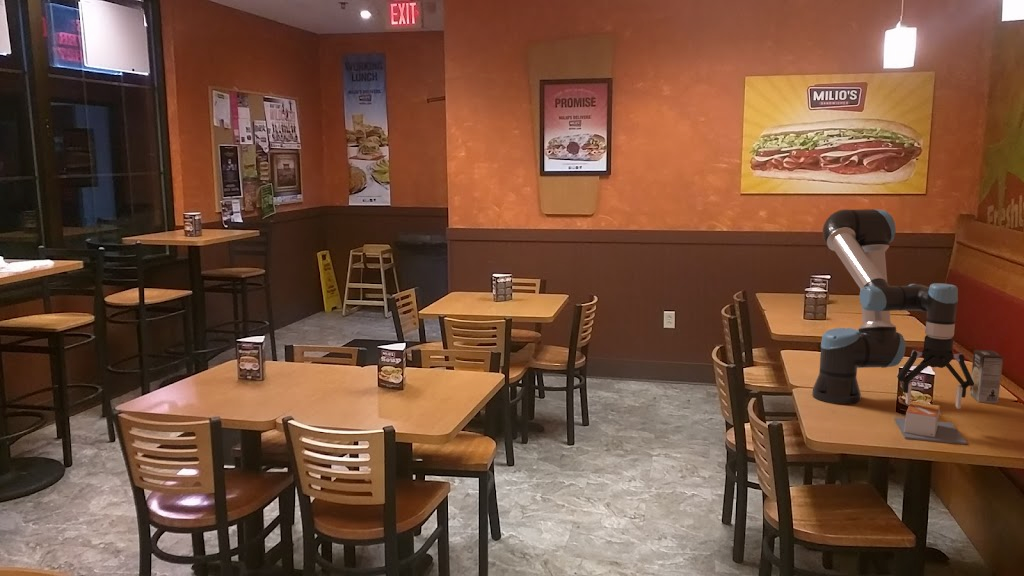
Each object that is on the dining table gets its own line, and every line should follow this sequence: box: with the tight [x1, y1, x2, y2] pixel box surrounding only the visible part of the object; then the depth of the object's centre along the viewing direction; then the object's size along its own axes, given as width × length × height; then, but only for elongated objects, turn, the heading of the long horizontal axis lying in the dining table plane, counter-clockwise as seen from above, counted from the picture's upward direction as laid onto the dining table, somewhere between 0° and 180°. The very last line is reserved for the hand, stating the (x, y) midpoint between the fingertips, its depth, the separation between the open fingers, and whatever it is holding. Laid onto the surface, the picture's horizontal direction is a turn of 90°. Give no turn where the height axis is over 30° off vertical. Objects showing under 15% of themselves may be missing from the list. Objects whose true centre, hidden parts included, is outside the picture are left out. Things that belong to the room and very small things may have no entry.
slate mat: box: [893, 417, 968, 445], centre depth 235 cm, size 16×18×1 cm
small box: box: [904, 400, 941, 437], centre depth 235 cm, size 8×6×13 cm
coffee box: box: [969, 349, 1004, 404], centre depth 266 cm, size 9×6×16 cm
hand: (932, 405), depth 236 cm, fingers open, 13 cm apart
